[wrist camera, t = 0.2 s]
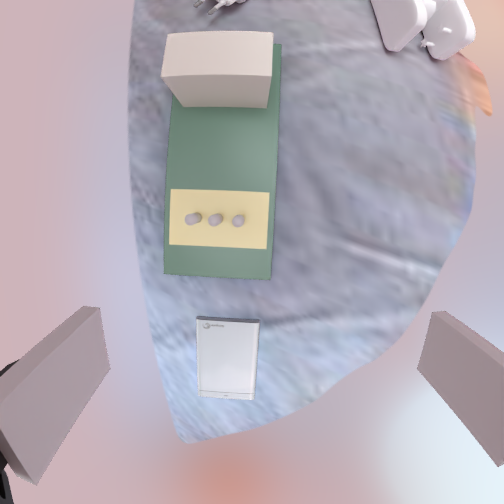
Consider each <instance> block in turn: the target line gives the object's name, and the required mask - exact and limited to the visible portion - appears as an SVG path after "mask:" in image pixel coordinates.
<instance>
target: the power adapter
mask: <svg viewBox="0 0 504 504" xmlns="http://www.w3.org/2000/svg"><path fill="white" fill-rule="evenodd" d="M204 1H205V0H198V1H197V2H196V3H195V4H194V7H198V6H200V5H201V4H202V3H203V2H204ZM216 1H218V2H219V3H218V4H217V5H216V6H214V7H213V8H212V9H210V10H209V11H208V14H209V15H212V14H213V13H214V12H215V11H217V10H218V9H219V8H220V7H221V6H223V5H225V6H230V5H231V4H233V3H234V2H237V3H244V2H245V1H247V0H216Z"/></svg>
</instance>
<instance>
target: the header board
mask: <svg viewBox="0 0 504 504" xmlns="http://www.w3.org/2000/svg"><path fill="white" fill-rule="evenodd" d="M280 74H281V44H273V56H272V78H271V84H270V90H269V97H268V103H267V109H266V108H246V107H183V106H182V105H181V103H180V102H179V101H178V99H177V98H176V97H175V95H174V94H173V100H172V109H171V118H170V129H169V141H168V154H167V169H166V187H165V212H164V274H171V275H186V276H203V277H220V278H239V279H259V280H270V278H271V263H272V247H273V230H274V212H275V194H276V174H277V153H278V129H279V104H280Z"/></svg>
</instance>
